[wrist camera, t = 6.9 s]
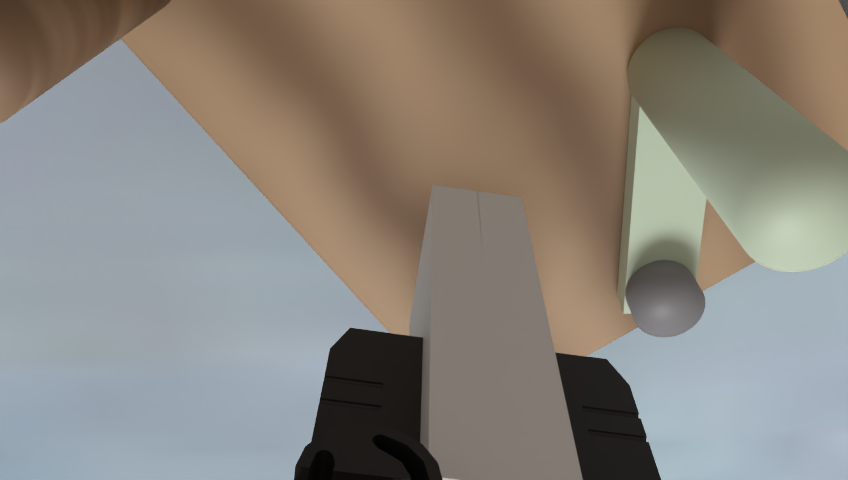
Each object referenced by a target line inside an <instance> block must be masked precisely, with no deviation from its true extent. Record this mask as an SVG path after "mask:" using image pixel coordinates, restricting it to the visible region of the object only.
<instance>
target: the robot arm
mask: <svg viewBox="0 0 848 480" xmlns="http://www.w3.org/2000/svg"><path fill="white" fill-rule="evenodd" d="M638 414H639V412H638V410H637V407H636V404H635V401H634V398H633V395H632V392H631V389H630V386H629V384H628V383H627V382H626V381H625V380H624V379H623V377H622V376H621V375H620V374H619V373H618V372H617V371H616V369H615V368H614V367H613V366H612V365H611V364H610V363H609V361H608V360H607V359H601V358H593V357H586V356H578V355H571V354H563V353H555V350H554V345H553V340H552V336H551V331H550V327H549V322H548V317H547V313H546V308H545V304H544V299H543V294H542V290H541V285H540V280H539V276H538V271H537V267H536V262H535V257H534V253H533V248H532V244H531V239H530V234H529V230H528V225H527V221H526V216H525V211H524V207H523V202H522V198H521V197H515V196H508V195H501V194H494V193H487V192H480V191H473V190H466V189H459V188H452V187H445V186H438V185H432V191H431V197H430V203H429V209H428V214H427V220H426V226H425V232H424V238H423V244H422V250H421V256H420V262H419V268H418V274H417V279H416V285H415V291H414V297H413V303H412V309H411V315H410V322H409V336H408V335H400V334H392V333H385V332H377V331H370V330H362V329H355V328H350V329H349V330H348V331H347V332H346V333H345V334H344V335H343V336H342V337H341V338H340V339H339V340H338V341H337V342H336V343H335V344H334V345H333V346H332V347H331V348H330V352H329V357H328V362H327V367H326V372H325V378H324V382H323V387H322V392H321V397H320V403H319V407H318V412H317V417H316V422H315V427H314V432H313V437H312V442H311V443H309V444H308V445H307V446H306V447H305V448H304V450H303V452H302V454H301V456H300V458H299V460H298V462H297V464H296V467H295V477H294V480H661V478H660V475H659V472H658V469H657V466H656V463H655V460H654V457H653V454H652V451H651V448H650V445H649V442H646V433H645V430H644V427H643V424H642V421H641V419H639V418H638Z"/></svg>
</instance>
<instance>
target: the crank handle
mask: <svg viewBox="0 0 848 480" xmlns="http://www.w3.org/2000/svg"><path fill="white" fill-rule="evenodd" d="M627 81H628V87H629V90H630V92H631V94H632V96H631V110H630V123H629V137H628V151H627V165H626V179H625V193H624V206H623V220H622V234H621V248H620V262H619V275H618V289H617V299H618V301H619V304H620V306H621V309H622V311H623V314H632V316H633V319H634V321H635V323H636V324H637V326H638V327H639V328H640V329H641V330H642V331H644V332H645V333H647V334H649V335H652V336H656V337H671V336H676V335H679V334H681V333H684V332H686V331H687V330H689V329H690V328H692V327H693V326H694V325H695V324H696V323H697V322H698V321H699V319H700V318H701V316H702V314H703V312H704V308H705V297H704V294H703V292H702V290H701V288H700V286H699V285H698V283H697V281H696V278H697V270H698V262H699V254H700V246H701V238H702V230H703V222H704V214H705V206H706V198H707V199H708V201H709V202H710V204H711V205H712V206H713V208H714V209H715V210H716V212H717V213H718V214H719V216H720V217H721V219H722V220H723V221H724V223H725V224H726V225H727V227H728V228H729V230H730V231H731V232H732V234H733V235H734V236H735V238H736V239H737V241H738V242H739V243H740V245H741V246H742V247H743V249H744V250H745V252H746V253H747V254H748V255H749V256H750V257H751V258H752V259H753V260H755V261H756V262H757V263H759V264H761V265H762V266H765V267H767V268H769V269H773V270H777V271H783V272H801V271H807V270H812V269H815V268H819V267H822V266H824V265H826V264H829V263H831V262H833V261H834V260H836V259H838V258H840V257H841V256H843V255H844V254H845V253H847V252H848V151H847V150H846V149H845V148H843V147H842V146H841V145H840V144H838V143H837V142H836V141H835V140H833V139H832V138H831V137H830V136H828V135H827V134H826V133H824V132H823V131H822V130H821V129H819V128H818V127H817V126H816V125H814V124H813V123H812V122H811V121H809V120H808V119H807V118H806V117H804V116H803V115H802V114H801V113H799V112H798V111H797V110H796V109H794V108H793V107H792V106H791V105H789V104H788V103H787V102H786V101H784V100H783V99H782V98H781V97H779V96H778V95H777V94H776V93H774V92H773V91H772V90H771V89H769V88H768V87H767V86H765V85H764V84H763V83H762V82H760V81H759V80H758V79H757V78H755V77H754V76H753V75H752V74H750V73H749V72H748V71H747V70H745V69H744V68H743V67H742V66H740V65H739V64H738V63H737V62H735V61H734V60H733V59H732V58H730V57H729V56H728V55H727V54H725V53H724V52H723V51H722V50H720V49H719V48H718V47H717V46H715V45H714V44H713V43H711V42H710V41H709V40H708V39H706V38H705V37H704V36H703V35H701V34H700V33H698V32H696V31H694V30H692V29H688V28H682V27H674V28H668V29H664V30H661V31H658V32H656V33H654V34H652V35H651V36H650V37H648V38H647V39H646V40H644V41H643V42H642V43H641V44H640V45H639V46H638V48H637V49H636V51H635V52H634V54H633V56H632V58H631V60H630V63H629V66H628V72H627Z"/></svg>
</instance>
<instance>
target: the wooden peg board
mask: <svg viewBox="0 0 848 480" xmlns="http://www.w3.org/2000/svg"><path fill="white" fill-rule="evenodd" d="M674 27H682V28H688V29H692V30H694V31H696V32H698V33H700V34H701V35H703V36H704V37H705V38H706V39H708V40H709V41H710V42H711V43H713V44H714V45H715V46H717V47H718V48H719V49H720V50H722V51H723V52H724V53H725V54H727V55H728V56H729V57H730V58H732V59H733V60H734V61H735V62H737V63H738V64H739V65H740V66H742V67H743V68H744V69H745V70H747V71H748V72H749V73H750V74H752V75H753V76H754V77H755V78H757V79H758V80H759V81H760V82H762V83H763V84H764V85H765V86H767V87H768V88H769V89H771V90H772V91H773V92H774V93H776V94H777V95H778V96H779V97H781V98H782V99H783V100H784V101H786V102H787V103H788V104H789V105H791V106H792V107H793V108H794V109H796V110H797V111H798V112H799V113H801V114H802V115H803V116H804V117H806V118H807V119H808V120H809V121H811V122H812V123H813V124H814V125H816V126H817V127H818V128H819V129H821V130H822V131H823V132H824V133H826V134H827V135H828V136H830V137H831V138H832V139H833V140H835V141H836V142H837V143H838V144H840V145H841V146H842V147H843V148H845V149H846V150H847V151H848V18H847V16H846V14H845V12H844V10H843V8H842V6H841V4H840V2H839V0H0V123H1V122H3V121H5V120H7V119H8V118H9V117H11V116H12V115H14V114H15V113H16V112H18V111H19V110H21V109H22V108H24V107H25V106H26V105H28V104H29V103H31V102H32V101H33V100H35V99H36V98H38V97H39V96H40V95H42V94H43V93H45V92H46V91H47V90H49V89H50V88H52V87H53V86H54V85H56V84H57V83H59V82H60V81H61V80H63V79H64V78H66V77H67V76H68V75H70V74H71V73H73V72H74V71H75V70H77V69H78V68H80V67H81V66H82V65H84V64H85V63H87V62H88V61H89V60H91V59H92V58H94V57H95V56H97V55H98V54H99V53H101V52H102V51H104V50H105V49H106V48H108V47H109V46H111V45H112V44H113V43H115V42H116V41H118V40H119V39H121V40H122V41H123V42H124V43H125V44H126V45H127V46H128V47H129V48H130V49H131V51H132V52H133V53H134V54H135V55H136V56H137V57H138V58H139V59H140V60H141V61H142V63H143V64H144V65H145V66H146V67H147V68H148V69H149V70H150V71H151V72H152V74H153V75H154V76H155V77H156V78H157V79H158V80H159V81H160V82H161V83H162V84H163V86H164V87H165V88H166V89H167V90H168V91H169V92H170V93H171V94H172V95H173V96H174V98H175V99H176V100H177V101H178V102H179V103H180V104H181V105H182V106H183V107H184V109H185V110H186V111H187V112H188V113H189V114H190V115H191V116H192V117H193V118H194V119H195V121H196V122H197V123H198V124H199V125H200V126H201V127H202V128H203V129H204V130H205V131H206V133H207V134H208V135H209V136H210V137H211V138H212V139H213V140H214V141H215V142H216V144H217V145H218V146H219V147H220V148H221V149H222V150H223V151H224V152H225V153H226V154H227V156H228V157H229V158H230V159H231V160H232V161H233V162H234V163H235V164H236V165H237V167H238V168H239V169H240V170H241V171H242V172H243V173H244V174H245V175H246V176H247V177H248V179H249V180H250V181H251V182H252V183H253V184H254V185H255V186H256V187H257V188H258V189H259V191H260V192H261V193H262V194H263V195H264V196H265V197H266V198H267V199H268V200H269V202H270V203H271V204H272V205H273V206H274V207H275V208H276V209H277V210H278V211H279V212H280V214H281V215H282V216H283V217H284V218H285V219H286V220H287V221H288V222H289V223H290V224H291V226H292V227H293V228H294V229H295V230H296V231H297V232H298V233H299V234H300V235H301V237H302V238H303V239H304V240H305V241H306V242H307V243H308V244H309V245H310V246H311V247H312V249H313V250H314V251H315V252H316V253H317V254H318V255H319V256H320V257H321V258H322V259H323V261H324V262H325V263H326V264H327V265H328V266H329V267H330V268H331V269H332V270H333V272H334V273H335V274H336V275H337V276H338V277H339V278H340V279H341V280H342V281H343V282H344V284H345V285H346V286H347V287H348V288H349V289H350V290H351V291H352V292H353V293H354V295H355V296H356V297H357V298H358V299H359V300H360V301H361V302H362V303H363V304H364V305H365V307H366V308H367V309H368V310H369V311H370V312H371V313H372V314H373V315H374V316H375V317H376V319H377V320H378V321H379V322H380V323H381V324H382V325H383V326H384V327H385V328H386V330H387V331H388V332H389V333H392V334H400V335H408V336H409V322H410V315H411V309H412V303H413V297H414V291H415V285H416V279H417V274H418V268H419V262H420V256H421V250H422V244H423V238H424V232H425V226H426V220H427V214H428V209H429V203H430V197H431V191H432V185H438V186H445V187H452V188H459V189H466V190H473V191H480V192H487V193H494V194H501V195H508V196H515V197H521V198H522V202H523V207H524V211H525V216H526V221H527V225H528V230H529V234H530V239H531V244H532V248H533V253H534V257H535V262H536V267H537V271H538V276H539V280H540V285H541V290H542V294H543V299H544V304H545V308H546V313H547V317H548V322H549V327H550V331H551V336H552V340H553V345H554V350H555V353H563V354H571V355H578V356H587V355H589V354H591V353H593V352H594V351H596V350H598V349H600V348H602V347H603V346H605V345H607V344H609V343H611V342H612V341H614V340H616V339H618V338H619V337H621V336H623V335H625V334H627V333H628V332H630V331H632V330H634V329H636V328H637V327H638V326H637V324H636V323H635V321H634V319H633V316H632V314H623V311H622V309H621V306H620V304H619V301H618V299H617V289H618V275H619V262H620V248H621V234H622V220H623V206H624V193H625V179H626V165H627V151H628V137H629V123H630V110H631V96H632V94H631V92H630V90H629V87H628V81H627V72H628V66H629V63H630V60H631V58H632V56H633V54H634V52H635V51H636V49H637V48H638V46H639V45H640V44H641V43H642V42H643V41H644V40H646V39H647V38H648V37H650V36H651V35H652V34H654V33H656V32H658V31H661V30H664V29H668V28H674ZM754 262H755V260H753V259H752V258H751V257H750V256H749V255H748V254H747V253H746V252H745V250H744V249H743V247H742V246H741V245H740V243H739V242H738V241H737V239H736V238H735V236H734V235H733V234H732V232H731V231H730V230H729V228H728V227H727V225H726V224H725V223H724V221H723V220H722V219H721V217H720V216H719V214H718V213H717V212H716V210H715V209H714V208H713V206H712V205H711V204H710V202H709V201H708V199H707V198H706V206H705V214H704V222H703V230H702V238H701V246H700V254H699V262H698V270H697V278H696V281H697V283H698V285H699V286H700V288H701V290H702V291H703V290H705V289H707V288H709V287H711V286H712V285H714V284H716V283H718V282H720V281H721V280H723V279H725V278H727V277H729V276H730V275H732V274H734V273H736V272H737V271H739V270H741V269H743V268H745V267H746V266H748V265H750V264H752V263H754Z"/></svg>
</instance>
